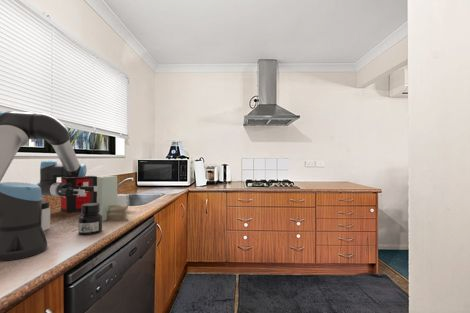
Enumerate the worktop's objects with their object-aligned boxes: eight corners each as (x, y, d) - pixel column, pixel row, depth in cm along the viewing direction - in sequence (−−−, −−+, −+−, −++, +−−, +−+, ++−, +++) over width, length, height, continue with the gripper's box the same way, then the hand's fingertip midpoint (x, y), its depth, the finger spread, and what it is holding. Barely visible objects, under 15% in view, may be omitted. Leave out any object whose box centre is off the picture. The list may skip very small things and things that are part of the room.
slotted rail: (124, 220, 128) (124, 206, 128) (88, 217, 133) (88, 204, 133) (127, 219, 131) (127, 205, 131) (91, 216, 136) (91, 203, 136)
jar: (22, 233, 105) (23, 205, 105) (25, 229, 112) (25, 202, 112) (49, 230, 110) (49, 203, 110) (50, 226, 117) (50, 200, 117)
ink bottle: (72, 235, 104) (72, 206, 104) (84, 229, 113) (85, 202, 113) (96, 235, 104) (96, 206, 104) (106, 229, 113) (107, 202, 113)
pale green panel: (102, 221, 126) (102, 177, 126) (97, 221, 127) (97, 177, 127) (117, 216, 137) (117, 175, 137) (112, 216, 138) (112, 175, 138)
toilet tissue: (114, 215, 140) (115, 197, 140) (100, 213, 145) (100, 195, 145) (130, 211, 150) (130, 194, 150) (116, 209, 155) (116, 193, 155)
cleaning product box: (90, 206, 164) (90, 175, 164) (96, 208, 158) (96, 176, 158) (60, 210, 150) (61, 177, 150) (66, 212, 145) (67, 178, 145)
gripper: (81, 193, 151) (111, 194, 146) (39, 199, 127) (74, 202, 122) (81, 180, 151) (111, 181, 146) (40, 185, 127) (74, 186, 122)
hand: (94, 190), depth 134 cm, fingers open, 13 cm apart
